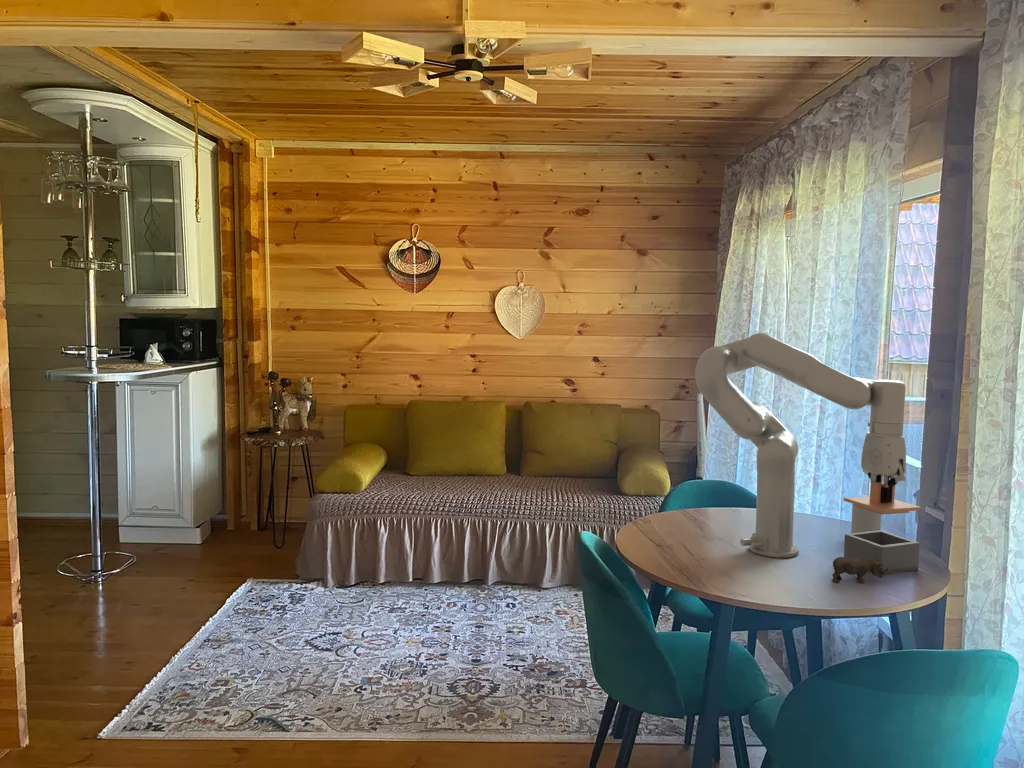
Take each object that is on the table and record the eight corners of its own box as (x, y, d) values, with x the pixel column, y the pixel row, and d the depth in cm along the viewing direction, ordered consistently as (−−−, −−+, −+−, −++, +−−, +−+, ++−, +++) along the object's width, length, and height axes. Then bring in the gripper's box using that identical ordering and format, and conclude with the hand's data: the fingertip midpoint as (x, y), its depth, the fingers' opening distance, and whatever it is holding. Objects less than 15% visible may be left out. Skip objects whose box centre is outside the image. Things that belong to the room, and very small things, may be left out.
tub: (881, 575, 178) (882, 547, 178) (843, 560, 189) (844, 534, 189) (918, 570, 182) (919, 542, 182) (879, 555, 193) (880, 530, 193)
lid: (882, 516, 177) (884, 489, 176) (843, 504, 188) (845, 478, 188) (920, 514, 181) (922, 487, 181) (879, 502, 193) (881, 476, 192)
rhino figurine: (892, 584, 172) (893, 559, 172) (834, 584, 172) (835, 559, 172) (884, 578, 176) (885, 554, 176) (827, 578, 176) (827, 553, 176)
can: (877, 545, 203) (878, 503, 202) (848, 540, 207) (849, 499, 206) (882, 539, 209) (884, 498, 208) (854, 534, 213) (855, 494, 212)
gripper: (850, 425, 189) (846, 494, 191) (901, 434, 174) (896, 509, 176) (872, 424, 192) (868, 493, 193) (924, 433, 177) (919, 507, 178)
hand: (881, 500), depth 185 cm, fingers closed on lid
